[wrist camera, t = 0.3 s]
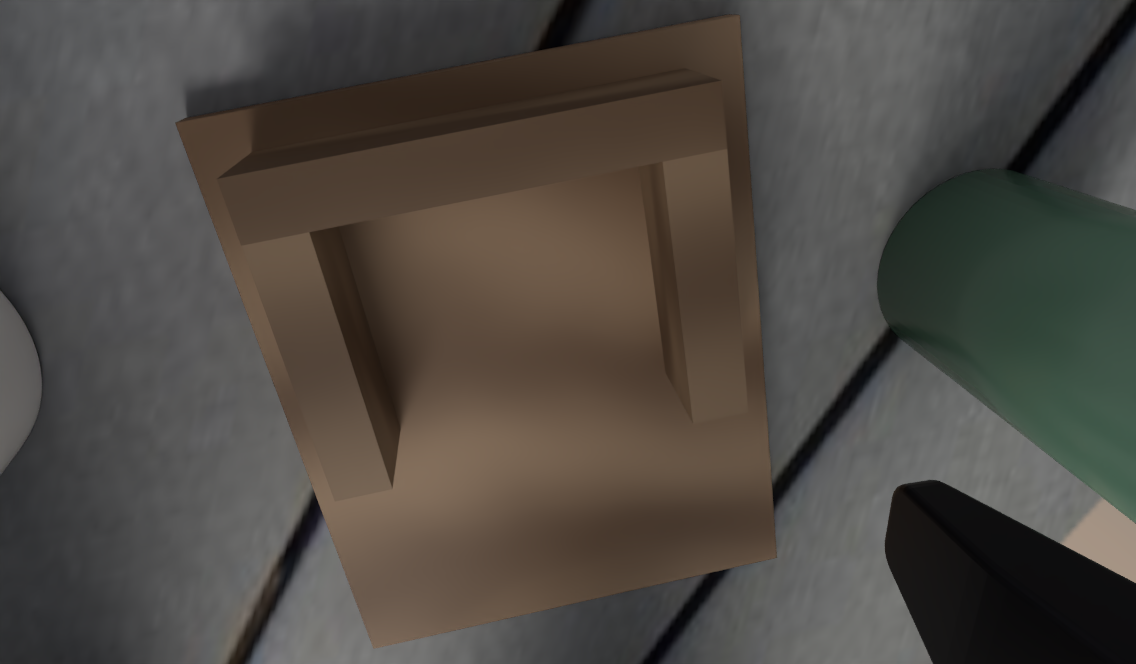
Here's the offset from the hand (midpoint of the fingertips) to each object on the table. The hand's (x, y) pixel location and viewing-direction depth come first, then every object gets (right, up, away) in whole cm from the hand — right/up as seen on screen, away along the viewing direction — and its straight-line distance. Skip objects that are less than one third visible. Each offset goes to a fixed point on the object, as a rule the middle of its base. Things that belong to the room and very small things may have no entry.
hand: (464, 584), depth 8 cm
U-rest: (0, +1, +15) cm, 16 cm away
